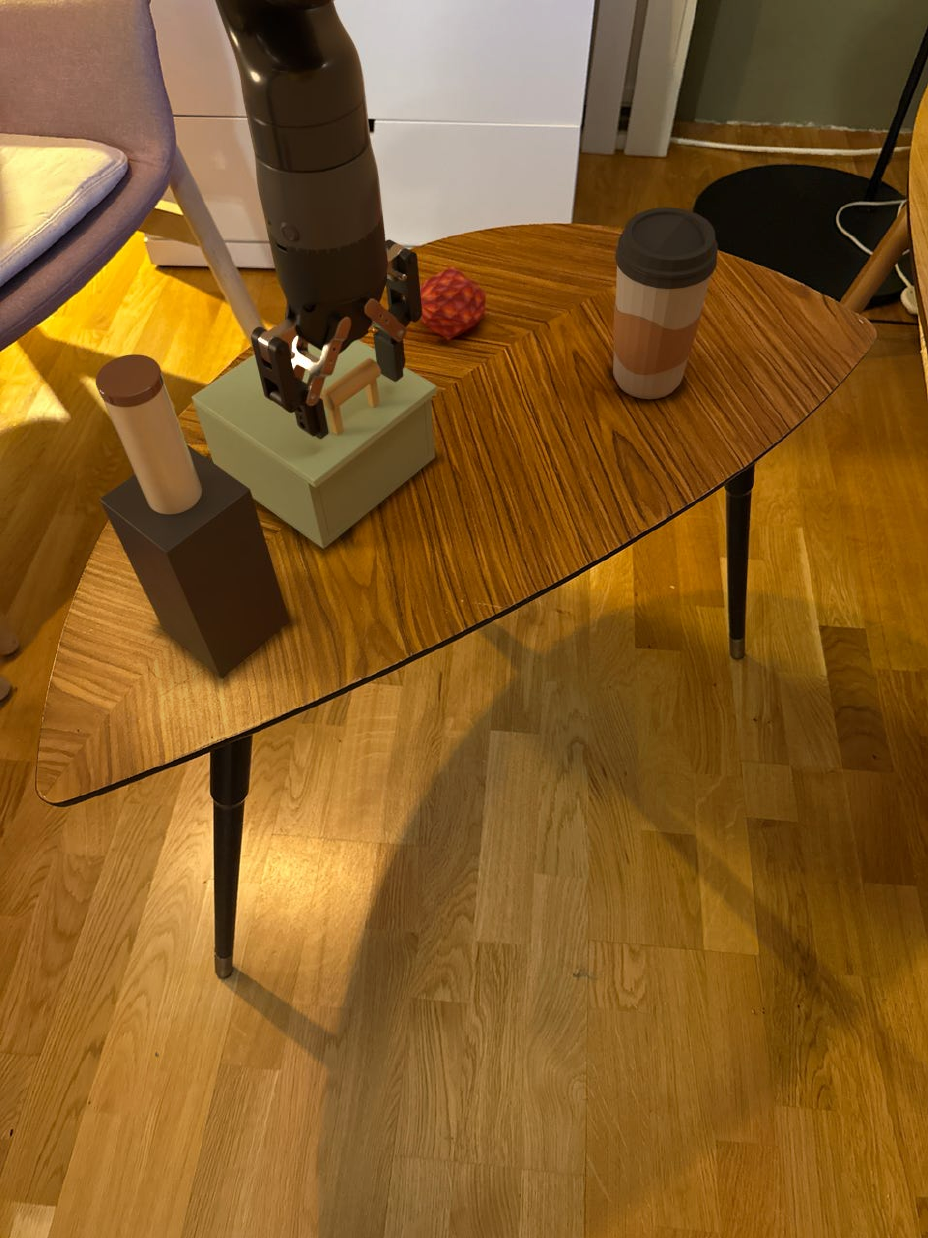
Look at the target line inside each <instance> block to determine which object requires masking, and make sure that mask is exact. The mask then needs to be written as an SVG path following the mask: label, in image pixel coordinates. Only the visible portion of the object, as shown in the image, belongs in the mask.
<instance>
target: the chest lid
mask: <svg viewBox="0 0 928 1238" xmlns="http://www.w3.org/2000/svg"><path fill="white" fill-rule="evenodd" d="M308 351H309V353H310V354H312V355H314V356H315V357H317V358H318V359H320V356H321V353H322V351H321V350H319V349H317V348H316V347H314V346H313V345H311V344H309V343H308ZM403 375H404V376H403V377H402V378H401V379H400V380H398V381H397V382H394V381H392V380H390V379H388V378H387V377H385V376H383V375H382V374H381V370H380V367H379V365H378V364H377V361H376V353H375V348H373V347H371V346H370V345H368V344H366V343H365V342H363V341H361V339H359V340H356V341H354V342H352V343H351V344H350V346H349V347H348V348H347V349H346V350H344V351H343V352H342V353H340V354H339V355H338V359H337V362H336V365H335V368H334V371H333V374H332V375H331V376H327V377H326V378H325V381H324V384H323V388H322V391H321V394H320V398H321V399H322V400H323V405H324V410H325V415H326V420H327V425H328V431H329V434H328V435H327V436H325V437H324V438H323V439H318V438H317V437H315V436H314V437H313V436H311V435H310V434H308V433H307V432H305V431H304V430H302V429H301V428H300V427H299V426H298V425H297V421H296V420H297V419H296V415H295V412H293V413H289V412H287V411H286V410H284V409H283V408H282V407H281V406H279V405H278V404H276V403H275V402H273V401H271V400H269V399H268V398H266V397H265V396H264V392H263V388H262V383H261V379H260V375H259V371H258V366H257V362H256V358H255V354H254V353H253V354H252V355H251V356H249V357H248V358H246V359H245V360H243V361H242V362H240V363H238V364H237V365H236V366H234V367H233V368H232V369H230V370H229V371H227V372H226V373H224V374H222V375H221V376H220V377H218V378H217V379H215V380H214V381H212V382H211V383H209V384H208V385H207V386H206V387H204V388H202V389H200V390H199V391H198V392H196V393H195V394H193V395H192V396H191V400H192V403H193V405H194V404H195V405H196V406H198V407H199V408H201V409H202V410H204V411H205V412H206V413H208V414H209V415H211V416H212V417H214V418H215V419H217V420H218V421H220V422H221V423H222V424H224V425H225V426H227V427H228V428H230V429H231V430H233V431H234V432H236V433H237V434H238V435H240V436H241V437H243V438H244V439H246V440H247V441H249V442H250V443H251V444H253V445H254V446H256V447H257V448H259V449H260V450H262V451H263V452H265V453H266V454H267V455H269V456H270V457H272V458H273V459H275V460H276V461H278V462H279V463H280V464H282V465H283V466H285V467H286V468H288V469H289V470H291V471H292V472H294V473H295V474H296V475H298V476H299V477H301V478H302V479H304V480H305V481H307V482H308V483H310V484H311V485H312V486H314V487H315V488H316V487H318V486H319V485H320V484H321V483H323V482H324V481H325V480H327V479H328V478H329V477H330V476H332V475H333V474H334V473H336V472H337V471H338V470H339V469H341V468H342V467H343V466H344V465H346V464H347V463H348V462H350V461H351V460H352V459H353V458H355V457H356V456H357V455H359V454H360V453H361V452H362V451H364V450H365V449H366V448H367V447H369V446H370V445H371V444H373V443H374V442H375V441H376V440H378V439H379V438H380V437H382V436H383V435H384V434H385V433H387V432H388V431H389V430H390V429H392V428H393V427H394V426H396V425H397V424H398V423H399V422H401V421H402V420H403V419H405V418H406V417H407V416H408V415H410V414H411V413H412V412H413V411H415V410H416V409H417V408H419V407H420V406H421V405H422V404H424V403H425V402H426V401H428V400H429V399H430V398H431V399H432V398H433V397H434V396H435V395H437V394H438V386H437V385H436V384H434V383H433V382H431V381H429V380H427V379H426V378H424V376H423V377H422V376H421V375H419V374H418V373H416V372H414V371H412V370H411V369H409V368H407V367H405V366H404V369H403ZM308 378H309V371H308V370H307V369H306V370H305V374H304V377H303V380H302V381H303V382H305V383H306V384H307V382H308Z"/></svg>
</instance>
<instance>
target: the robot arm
mask: <svg viewBox="0 0 928 1238" xmlns="http://www.w3.org/2000/svg"><path fill="white" fill-rule="evenodd" d="M214 1H215V5H216V8H217V10H218V14H219V17H220V19H221V22H222V25H223V26H224V30H225V33H226V36H227V38H228V41H229V44H230V46H231V50H232V53H233V56H234V59H235V62H236V66H237V70H238V74H239V79H240V88H241V95H242V100H243V105H244V110H245V114H246V115H245V116H246V120H247V124H248V128H249V133H250V139H251V144H252V148H253V153H254V161H255V174H256V175H255V176H256V185H257V190H258V195H259V201H260V205H261V209H262V210H261V211H262V214H263V218H264V223H265V229H266V232H267V237H268V242H269V246H270V251H271V256H272V260H273V261H272V262H273V265H274V270H275V275H276V278H277V281H278V284H279V286H280V288H281V290H282V293H283V295H284V297H285V299H286V308H285V313H284V320H283V321H281V322H280V323H279V324H277V325H276V326H274V327H272V328H271V329H269V330H268V329H266V328H265V327H263V326H257V327H255V328H254V329H253V330H252V332H251V335H250V340H251V344H252V345H251V346H252V348H253V355H254V354H255V358H256V362H257V366H258V371H259V375H260V379H261V383H262V388H263V392H264V396H265V397H266V398H268V399H269V400H271V401H273V402H275V403H276V404H278V405H279V406H281V407H282V408H283V409H284V410H286V411H287V412H289V413H293V412H295V415H296V419H297V420H296V421H297V425H298V426H299V427H300V428H301V429H302V430H304V431H305V432H307V433H308V434H310V435H311V436H313V437H314V436H315V437H317V438H318V439H323V438H324V437H325V436H327V435H328V434H329V431H328V425H327V420H326V415H325V410H324V405H323V400H322V399H321V398H320V394H321V391H322V388H323V384H324V381H325V378H326V377H327V376H331V375H332V374H333V371H334V368H335V365H336V362H337V359H338V355H339V354H340V353H342V352H343V351H344V350H346V349H347V348H348V347H349V346H350V344H351V343H352V342H354V341H356V340H361V339H363V338H364V337H365V336H368V335H369V334H370V333H369V329H370V328H371V327H372V328H373V329H376V332H374V333H373V334H372V336H373V337H372V338H373V344H374V345H373V346H374V349H375V353H376V361H377V364H378V365H379V367H380V370H381V374H382V375H383V376H385V377H387V378H388V379H390V380H392V381H394V382H397V381H398V380H400V379H401V378H402V377H403V376H404V375H403V369H404V367H405V365H406V354H405V345H404V339H405V338H406V336H407V333H408V332H407V331H408V329H407V327H408V326H409V325H410V323H411V322H412V323H414V324H417V323H418V322H419V321H420V320H421V316H422V303H421V292H420V286H421V284H420V283H421V282H420V272H419V261H418V254H417V252H415V251H413V250H411V249H409V248H408V247H405V246H404V245H402V244H401V243H400V244H399V243H398V242H396V241H394V240H393V239H388V238H387V239H386V230H385V223H384V222H385V221H384V213H383V212H384V211H383V204H382V195H381V184H380V176H379V169H378V165H377V160H376V157H375V152H374V149H373V144H372V140H371V139H372V138H371V132H370V131H371V130H370V123H369V115H368V105H367V95H366V88H365V87H366V86H365V78H364V73H363V67H362V62H361V60H360V56H359V52H358V49H357V48H356V46H355V43H354V41H353V40H352V37H351V36H350V34H349V32H348V31H347V29H346V28H345V26H344V23H343V22H342V20H341V17H340V16H339V14H338V11H337V8H336V6H335V5H336V4H335V0H214ZM385 290H386V299H387V305H388V306H387V307H388V309H386V308H385V307H384V306H383V305H382V304H381V300H382V297H383V295H384V291H385ZM308 343H309V344H311V345H313V346H314V347H316V348H317V349H319V350H321V351H322V353H321V356H320V359H318V358H317V357H315V356H314V355H312V354H310V353H309V351H308ZM306 369H307V370H308V371H309V378H308V382H307V384H306V383H305V382H303V381H302V380H303V377H304V374H305V370H306Z"/></svg>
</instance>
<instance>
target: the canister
mask: <svg viewBox="0 0 928 1238" xmlns="http://www.w3.org/2000/svg"><path fill="white" fill-rule="evenodd" d="M95 386H96V390H97V391H98V393H99V396H100V398H101V399H102V401H103V403H104V406H105V408H106V410H107V412H108V414H109V416H110V417H109V418H110V419H111V421H112V424H113V427H114V429H115V431H116V434H117V436H118V437H119V440H120V442H121V444H122V447H123V449H124V452H125V454H126V456H127V458H128V461H129V463H130V465H131V468H132V470H133V472H134V475H136V477H137V479H138V482H139V484H140V486H141V489H142V491H143V493H144V496H145V498H146V500H147V503H148V505H149V506H150V507H151V508H152V509H153V510H154V511H156V512H158V513H161V514H178V513H181V512H184V511H186V510H188V509H190V508H191V507H193V506H194V505H195V504H196V503H197V502H198V501H199V499H200V497H201V494H202V486H201V483H200V480H199V477H198V474H197V472H196V469H195V466H194V463H193V460H192V458H191V455H190V452H189V449H188V447H187V444H188V443H187V441H186V439H185V436H184V432H183V430H182V427H181V425H180V421H179V419H178V416H177V413H176V410H175V408H174V404H173V401H172V399H171V396H170V394H169V390H168V388H167V385H166V383H165V377H164V374H163V371H162V369H161V366H160V364H159V363H158V361H156V360H155V359H154V358H153V357H150V356H148V355H145V354H139V353H133V354H132V353H131V354H124V355H120V356H117V357H115V358H112V359H111V360H109V361H108V362H106V363H105V364H104V365H102V366H101V367H100V368H99V370H98V371H97V374H96V375H95Z"/></svg>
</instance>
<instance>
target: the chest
mask: <svg viewBox="0 0 928 1238" xmlns="http://www.w3.org/2000/svg"><path fill="white" fill-rule="evenodd" d="M193 406H194V408H195V412H196V415H197V418H198V421H199V425H200V427H201V430H202V432H203V436H204V439H205V442H206V445H207V448H208V450H209V454H210V456H211V457H210V458H211V459H212V460H211V461H212V462H213V463H214V464H216V465H217V466H218V467H220V468H221V469H223V470H224V471H225V472H227V473H228V474H229V475H231V476H232V477H234V478H235V479H236V480H238V481H239V482H241V483H242V484H243V485H245V486H246V487H248V488H249V489H250V490H251V494H252V497H253V500H255V501H256V502H258V503H259V504H261V505H262V506H263V507H264V508H266V509H267V510H269V511H270V512H272V513H273V514H275V515H276V516H277V517H279V518H280V519H281V520H283V521H284V522H285V523H286V524H288V525H290V526H291V527H292V528H293V529H295V530H296V531H298V532H299V533H300V534H301V535H303V536H305V537H306V538H307V539H309V540H310V541H312V542H313V543H314V544H316V545H317V546H318V547H320V548H321V549H323V550H325V549H326V548H327V547H328V546H330V545H331V544H332V543H333V542H334V541H336V540H337V539H338V538H339V537H341V536H342V535H343V534H344V533H345V532H346V531H347V530H349V529H350V528H351V527H353V526H354V525H355V524H356V523H358V522H359V521H360V520H361V519H362V518H363V517H365V516H366V515H367V514H368V513H369V512H371V511H372V510H373V509H375V507H377V506H378V505H379V504H381V503H382V502H383V501H384V500H385V499H386V498H388V497H389V496H390V495H392V494H393V493H394V492H395V491H396V490H398V489H399V488H400V487H401V486H402V485H403V484H405V483H406V482H407V481H409V480H410V479H411V478H412V477H413V476H414V475H416V474H417V473H418V472H420V471H421V470H422V469H423V468H424V467H426V466H427V465H428V464H429V463H430V462H432V461H433V460H434V459H435V458H436V451H435V448H436V447H435V435H434V423H433V421H434V420H433V408H432V397H431V398H430V399H429V400H428V401H426V402H425V403H424V404H422V405H421V406H420V407H419V408H417V409H416V410H415V411H413V412H412V413H411V414H410V415H408V416H407V417H406V418H405V419H403V420H402V421H401V422H399V423H398V424H397V425H396V426H394V427H393V428H392V429H390V430H389V431H388V432H387V433H385V434H384V435H383V436H382V437H380V438H379V439H378V440H376V441H375V442H374V443H373V444H371V445H370V446H369V447H367V448H366V449H365V450H364V451H362V452H361V453H360V454H359V455H357V456H356V457H355V458H353V459H352V460H351V461H350V462H348V463H347V464H346V465H344V466H343V467H342V468H341V469H339V470H338V471H337V472H336V473H334V474H333V475H332V476H330V477H329V478H328V479H327V480H325V481H324V482H323V483H321V484H320V485H319V486H318V487H316V488H315V487H314V486H312V485H311V484H310V483H308V482H307V481H305V480H304V479H302V478H301V477H299V476H298V475H296V474H295V473H294V472H292V471H291V470H289V469H288V468H286V467H285V466H283V465H282V464H280V463H279V462H278V461H276V460H275V459H273V458H272V457H270V456H269V455H267V454H266V453H265V452H263V451H262V450H260V449H259V448H257V447H256V446H254V445H253V444H251V443H250V442H249V441H247V440H246V439H244V438H243V437H241V436H240V435H238V434H237V433H236V432H234V431H233V430H231V429H230V428H228V427H227V426H225V425H224V424H222V423H221V422H220V421H218V420H217V419H215V418H214V417H212V416H211V415H209V414H208V413H206V412H205V411H204V410H202V409H201V408H199V407H198V406H196V405H195V404H194V403H193Z"/></svg>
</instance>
